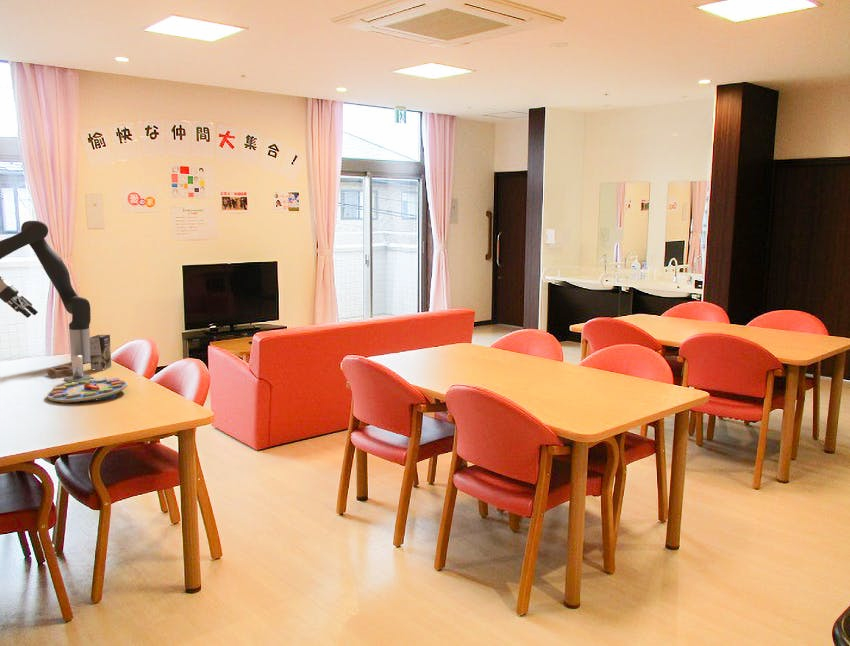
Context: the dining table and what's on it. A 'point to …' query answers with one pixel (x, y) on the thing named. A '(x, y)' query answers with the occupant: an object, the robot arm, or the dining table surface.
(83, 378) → the slate tile
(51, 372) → the pocket block
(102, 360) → the coffee box
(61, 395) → the shape sorting clock
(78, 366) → the metal cylinder
